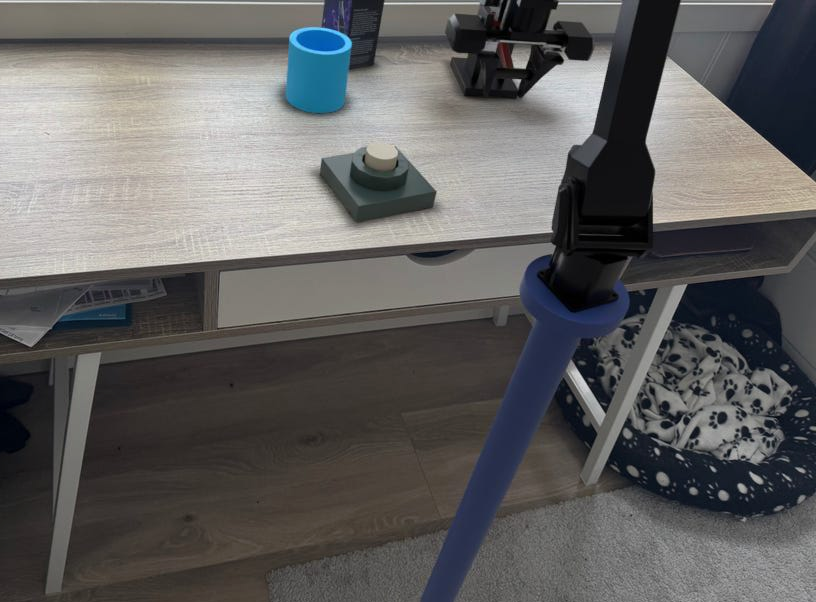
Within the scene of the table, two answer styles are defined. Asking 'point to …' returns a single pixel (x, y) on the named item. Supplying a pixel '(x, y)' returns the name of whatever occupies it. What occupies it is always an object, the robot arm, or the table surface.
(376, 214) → the button block
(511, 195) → the table surface
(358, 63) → the box
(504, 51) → the lever
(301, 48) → the mug
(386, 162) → the button
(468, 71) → the bracket
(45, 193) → the table surface
